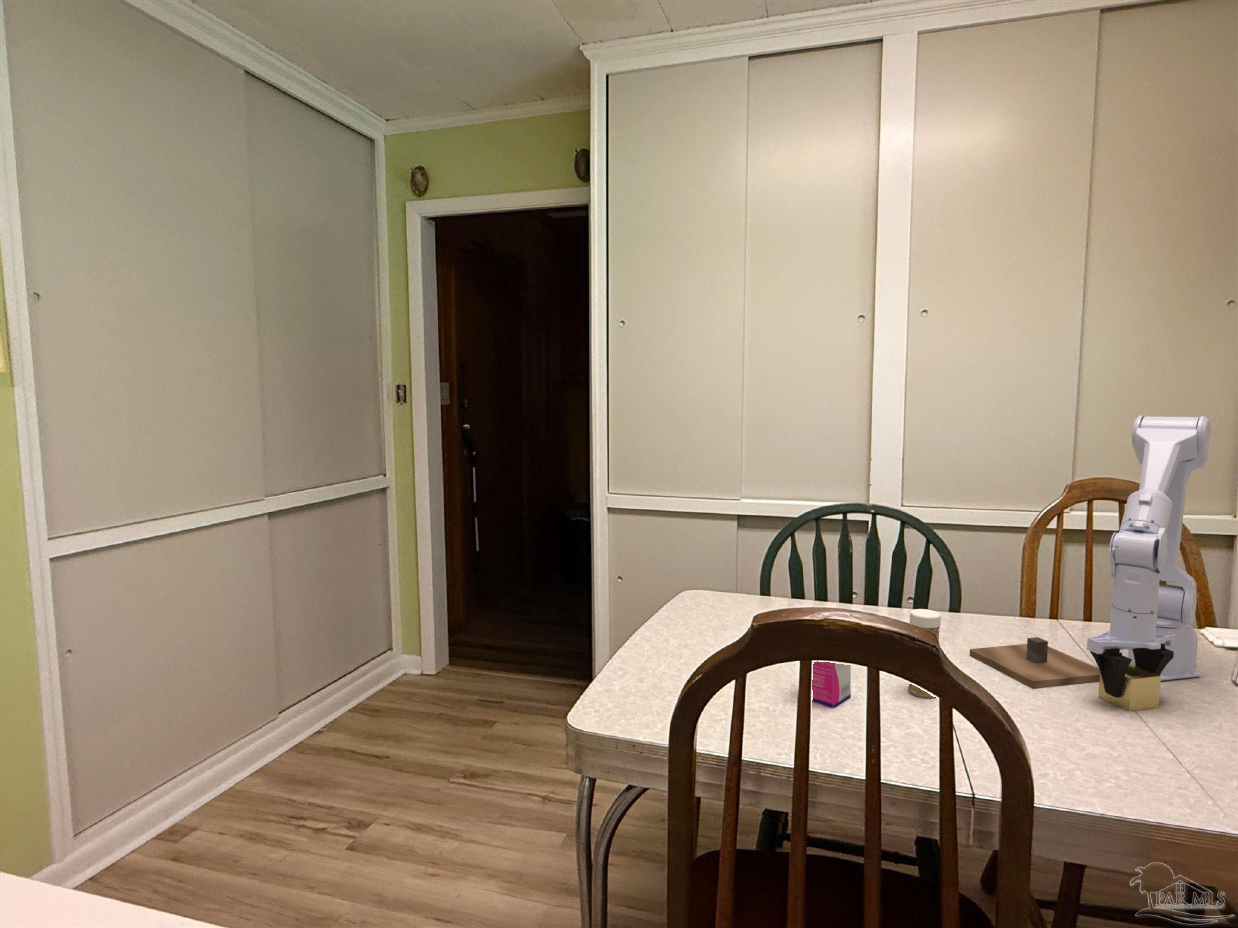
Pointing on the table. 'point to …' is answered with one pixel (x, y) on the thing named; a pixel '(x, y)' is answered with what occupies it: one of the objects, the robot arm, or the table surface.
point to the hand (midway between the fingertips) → (1128, 693)
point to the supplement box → (831, 683)
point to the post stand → (1037, 664)
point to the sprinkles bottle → (929, 622)
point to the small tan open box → (1136, 690)
